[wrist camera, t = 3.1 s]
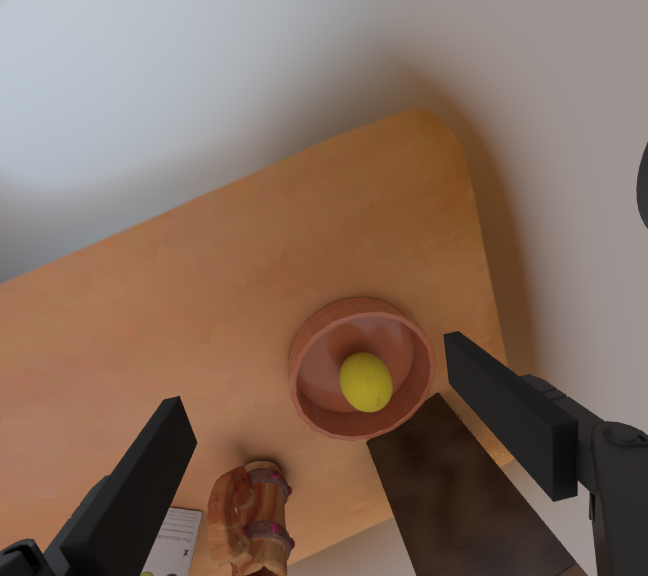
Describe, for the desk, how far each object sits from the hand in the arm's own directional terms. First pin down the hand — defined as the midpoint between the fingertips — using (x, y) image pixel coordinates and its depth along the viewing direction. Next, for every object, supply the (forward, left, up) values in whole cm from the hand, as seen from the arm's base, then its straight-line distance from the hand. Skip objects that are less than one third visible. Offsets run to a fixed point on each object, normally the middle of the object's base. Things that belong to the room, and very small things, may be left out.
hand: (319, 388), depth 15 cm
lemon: (0, +13, -19) cm, 23 cm away
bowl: (0, +13, -19) cm, 23 cm away
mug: (+19, +17, -20) cm, 32 cm away
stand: (0, +31, -19) cm, 37 cm away
